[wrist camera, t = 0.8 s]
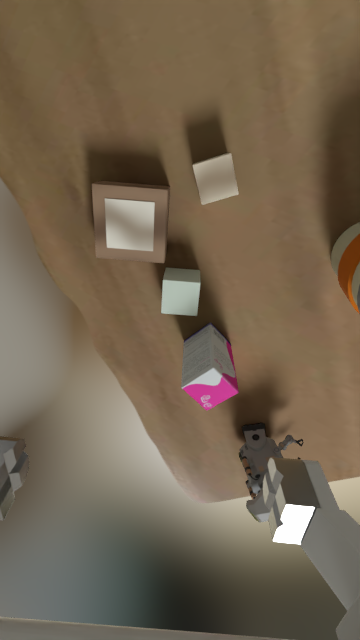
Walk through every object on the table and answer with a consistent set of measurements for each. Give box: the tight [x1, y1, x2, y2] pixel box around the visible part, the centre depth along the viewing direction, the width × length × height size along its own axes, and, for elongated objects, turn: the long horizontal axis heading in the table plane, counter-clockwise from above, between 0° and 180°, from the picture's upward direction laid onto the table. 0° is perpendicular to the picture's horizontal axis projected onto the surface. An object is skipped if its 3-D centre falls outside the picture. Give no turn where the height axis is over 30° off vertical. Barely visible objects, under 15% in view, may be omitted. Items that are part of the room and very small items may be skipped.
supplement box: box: [181, 323, 239, 410], centre depth 47 cm, size 6×6×12 cm
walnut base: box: [92, 181, 170, 263], centre depth 41 cm, size 9×9×4 cm
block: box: [193, 153, 238, 205], centre depth 38 cm, size 4×4×4 cm
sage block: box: [161, 267, 201, 316], centre depth 45 cm, size 5×5×5 cm
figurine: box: [239, 423, 303, 522], centre depth 55 cm, size 9×12×15 cm
